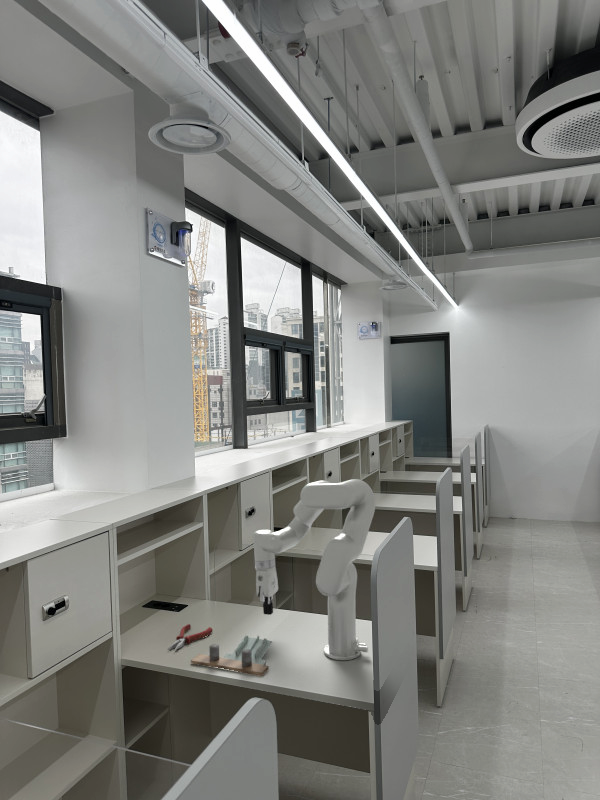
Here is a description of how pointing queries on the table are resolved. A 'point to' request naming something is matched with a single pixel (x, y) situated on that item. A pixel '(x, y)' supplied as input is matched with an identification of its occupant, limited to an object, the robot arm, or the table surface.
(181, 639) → the pliers
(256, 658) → the metal bracket
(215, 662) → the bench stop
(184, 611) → the table surface
